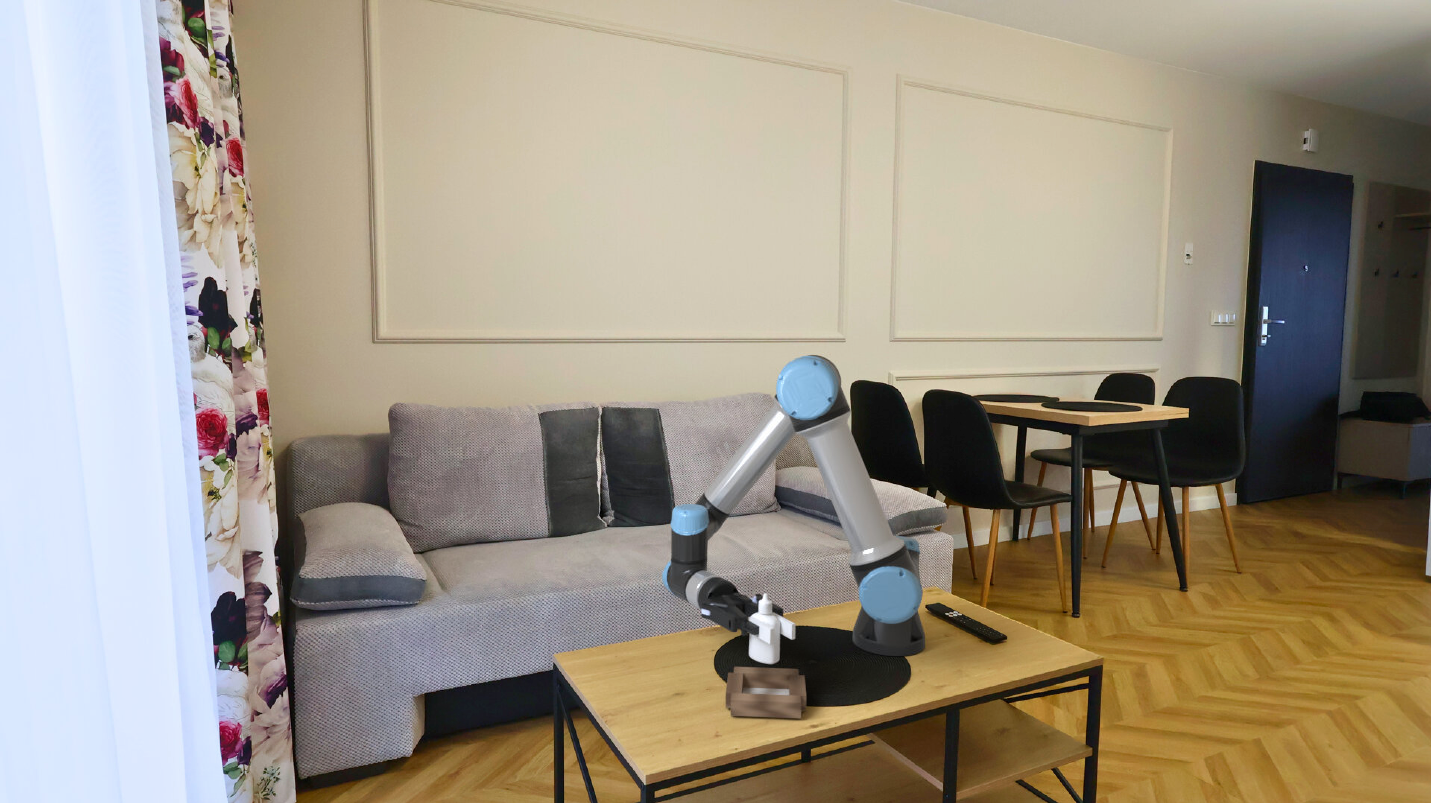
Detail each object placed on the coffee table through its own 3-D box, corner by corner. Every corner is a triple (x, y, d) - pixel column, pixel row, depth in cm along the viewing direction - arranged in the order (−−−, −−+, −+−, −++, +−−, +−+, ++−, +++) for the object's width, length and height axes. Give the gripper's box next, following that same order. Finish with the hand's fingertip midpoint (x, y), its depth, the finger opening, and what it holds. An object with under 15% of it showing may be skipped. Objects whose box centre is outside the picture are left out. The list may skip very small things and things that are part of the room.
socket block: (803, 685, 154) (803, 669, 154) (806, 721, 140) (807, 702, 140) (728, 683, 155) (728, 666, 155) (724, 717, 141) (724, 699, 141)
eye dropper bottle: (768, 651, 150) (770, 587, 149) (781, 663, 145) (783, 597, 144) (746, 654, 149) (748, 590, 148) (759, 666, 144) (761, 600, 143)
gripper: (748, 606, 166) (820, 645, 147) (674, 620, 158) (741, 664, 138) (749, 570, 166) (822, 604, 146) (675, 582, 157) (742, 621, 137)
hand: (782, 633), depth 142 cm, fingers closed on eye dropper bottle, 4 cm apart
